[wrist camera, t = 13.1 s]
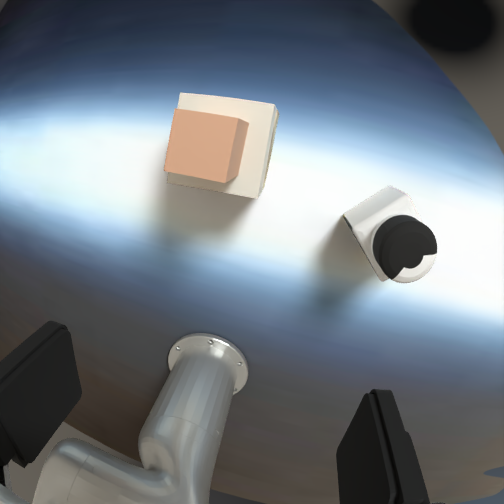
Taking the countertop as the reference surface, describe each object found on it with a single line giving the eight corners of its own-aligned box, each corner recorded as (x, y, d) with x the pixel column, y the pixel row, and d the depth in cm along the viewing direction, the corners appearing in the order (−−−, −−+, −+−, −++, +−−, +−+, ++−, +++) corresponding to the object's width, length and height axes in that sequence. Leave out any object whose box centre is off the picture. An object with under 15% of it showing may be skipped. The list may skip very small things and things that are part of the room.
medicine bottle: (341, 213, 38) (360, 243, 27) (389, 183, 36) (427, 201, 25) (368, 260, 39) (393, 304, 28) (414, 232, 37) (454, 266, 26)
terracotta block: (238, 175, 29) (225, 183, 24) (187, 165, 30) (163, 170, 24) (249, 122, 28) (238, 118, 22) (197, 114, 28) (175, 108, 22)
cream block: (261, 191, 34) (257, 198, 30) (181, 177, 35) (166, 183, 31) (276, 109, 31) (274, 104, 27) (194, 98, 32) (180, 92, 27)
